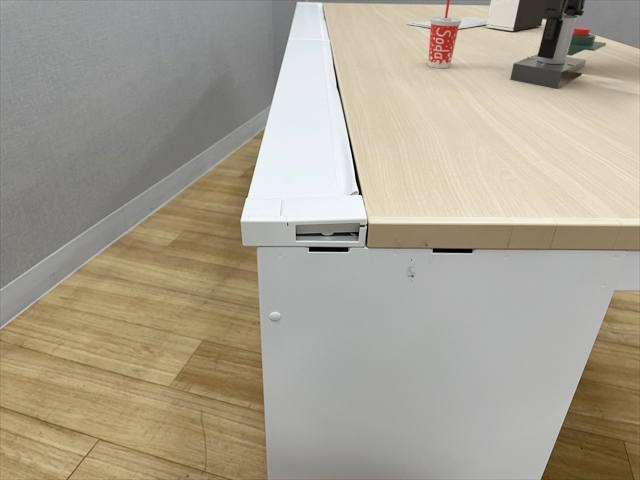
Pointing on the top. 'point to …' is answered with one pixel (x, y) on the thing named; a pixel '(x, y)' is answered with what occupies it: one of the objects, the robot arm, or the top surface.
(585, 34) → the stop button
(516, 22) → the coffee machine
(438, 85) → the top surface
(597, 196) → the top surface
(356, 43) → the top surface
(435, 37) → the beverage cup
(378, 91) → the top surface
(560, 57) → the light grey cylinder
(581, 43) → the button box
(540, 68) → the tap block
